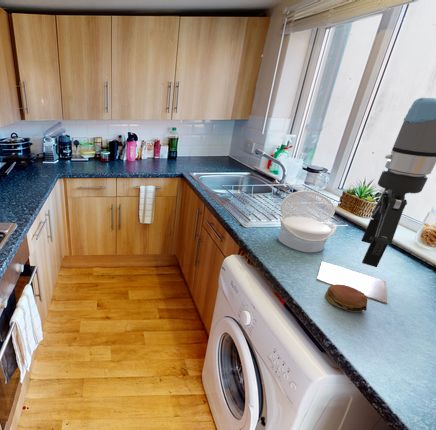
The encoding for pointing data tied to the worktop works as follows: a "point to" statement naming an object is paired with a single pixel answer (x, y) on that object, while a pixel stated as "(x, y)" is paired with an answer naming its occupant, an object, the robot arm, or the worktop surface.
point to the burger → (346, 298)
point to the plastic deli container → (306, 222)
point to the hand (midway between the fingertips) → (368, 252)
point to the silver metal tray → (353, 281)
